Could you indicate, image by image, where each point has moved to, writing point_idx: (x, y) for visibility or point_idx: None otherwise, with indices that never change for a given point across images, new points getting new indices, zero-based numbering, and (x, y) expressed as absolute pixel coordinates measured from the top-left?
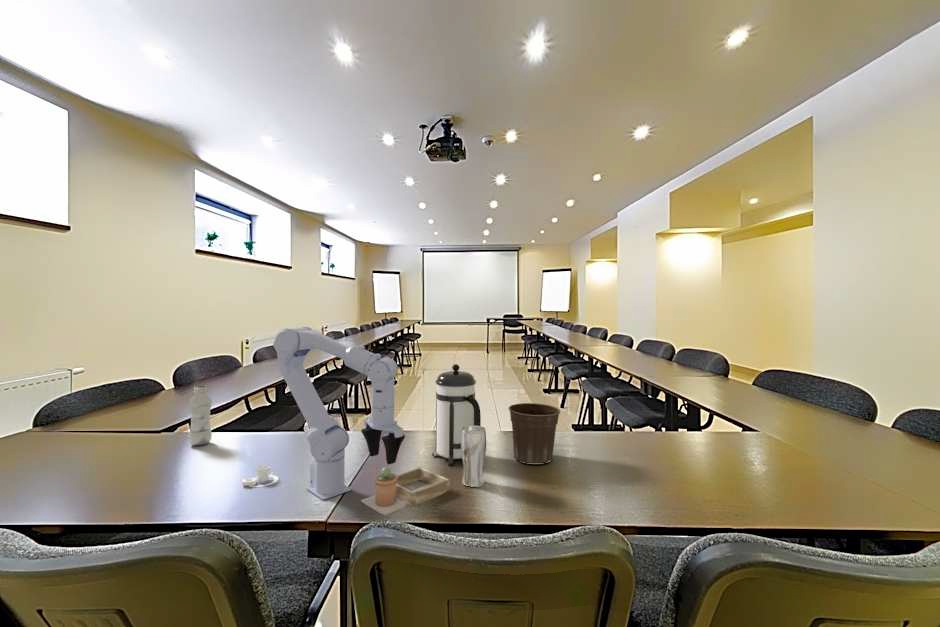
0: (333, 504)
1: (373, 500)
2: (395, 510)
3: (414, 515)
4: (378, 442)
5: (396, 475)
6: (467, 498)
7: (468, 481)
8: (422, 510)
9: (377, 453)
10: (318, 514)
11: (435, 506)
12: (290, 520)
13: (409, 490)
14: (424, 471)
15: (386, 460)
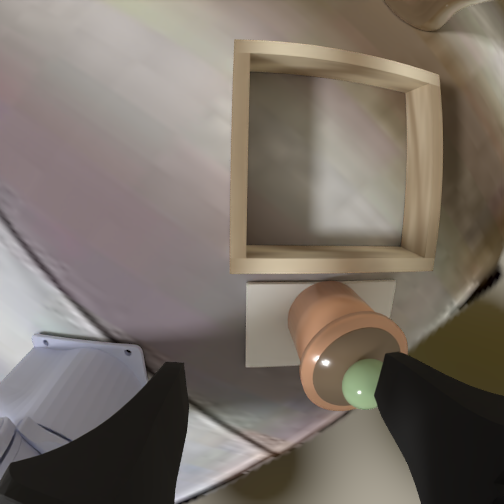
0: (199, 418)
1: (282, 341)
2: None
3: (440, 288)
4: (160, 422)
5: (381, 319)
6: (475, 101)
7: (437, 22)
8: (441, 252)
9: (183, 373)
10: (227, 454)
11: (453, 205)
12: (210, 485)
13: (404, 261)
14: (288, 56)
15: (381, 414)
